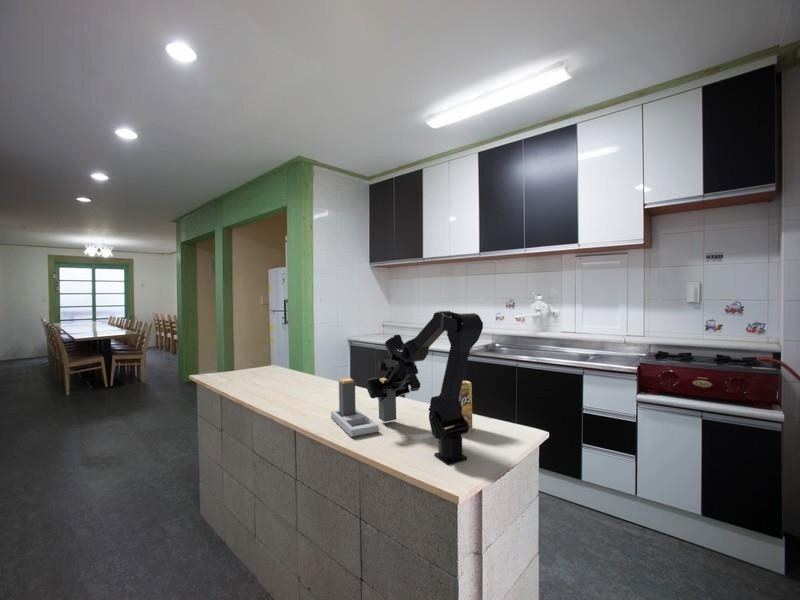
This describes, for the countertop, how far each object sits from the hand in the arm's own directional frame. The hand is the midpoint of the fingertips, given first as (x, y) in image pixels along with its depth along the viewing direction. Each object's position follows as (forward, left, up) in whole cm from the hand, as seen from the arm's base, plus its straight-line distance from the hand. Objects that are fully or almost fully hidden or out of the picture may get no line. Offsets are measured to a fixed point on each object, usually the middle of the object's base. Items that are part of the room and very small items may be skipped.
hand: (385, 398), depth 124 cm
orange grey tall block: (-1, 0, -7) cm, 7 cm away
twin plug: (+9, +11, -8) cm, 16 cm away
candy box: (-18, -17, -8) cm, 26 cm away
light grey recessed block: (+3, +11, -8) cm, 14 cm away
